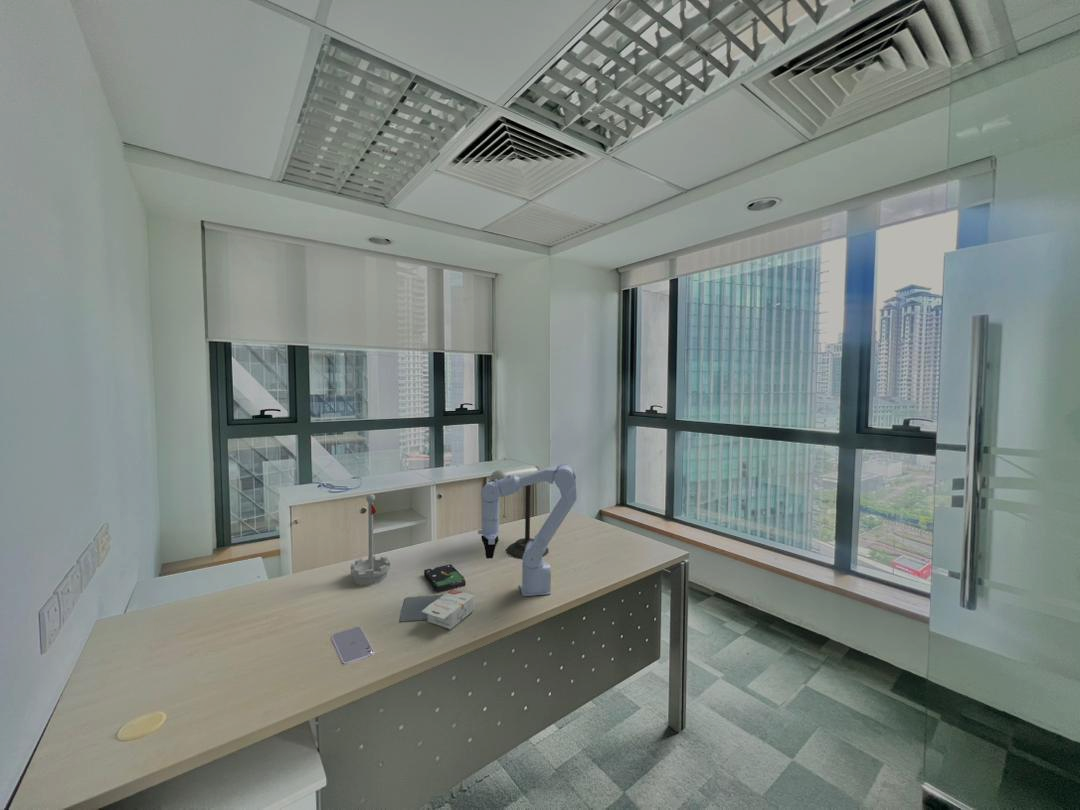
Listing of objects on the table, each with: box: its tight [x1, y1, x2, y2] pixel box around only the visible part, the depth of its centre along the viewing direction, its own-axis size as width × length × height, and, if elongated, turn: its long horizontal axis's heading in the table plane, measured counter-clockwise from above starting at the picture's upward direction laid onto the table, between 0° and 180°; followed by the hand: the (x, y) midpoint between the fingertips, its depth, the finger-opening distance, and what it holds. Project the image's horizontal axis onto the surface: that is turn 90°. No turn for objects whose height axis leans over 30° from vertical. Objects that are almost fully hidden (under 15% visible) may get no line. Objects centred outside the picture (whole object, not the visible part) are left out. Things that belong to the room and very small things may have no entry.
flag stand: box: [350, 493, 391, 586], centre depth 150 cm, size 13×13×30 cm
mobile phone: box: [331, 626, 375, 664], centre depth 112 cm, size 8×1×15 cm
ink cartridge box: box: [422, 589, 475, 630], centre depth 125 cm, size 9×5×15 cm
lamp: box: [488, 464, 549, 559], centre depth 179 cm, size 26×24×34 cm
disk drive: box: [423, 563, 467, 594], centre depth 149 cm, size 10×3×15 cm
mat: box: [399, 594, 444, 623], centre depth 131 cm, size 16×14×1 cm
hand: (489, 557), depth 144 cm, fingers closed
